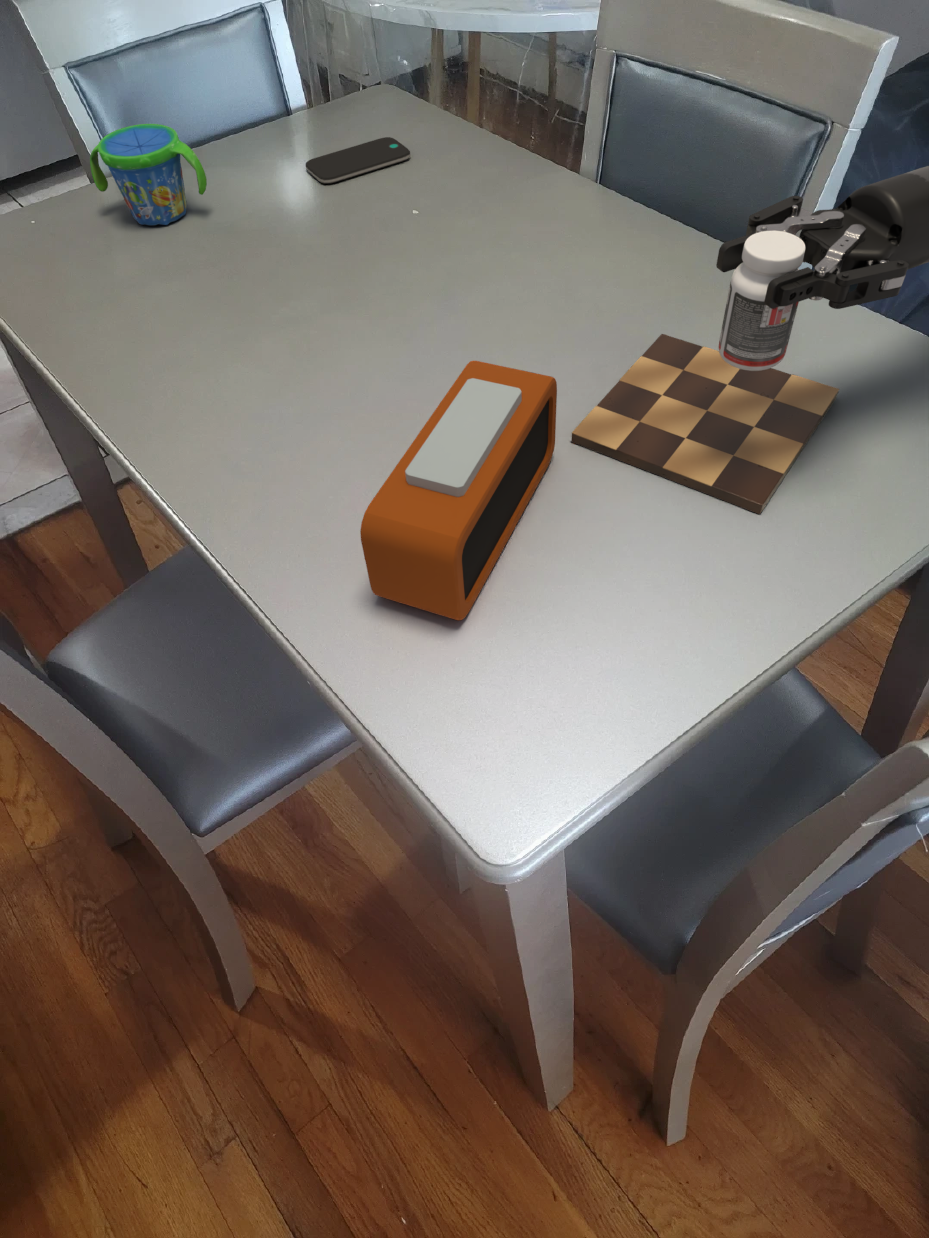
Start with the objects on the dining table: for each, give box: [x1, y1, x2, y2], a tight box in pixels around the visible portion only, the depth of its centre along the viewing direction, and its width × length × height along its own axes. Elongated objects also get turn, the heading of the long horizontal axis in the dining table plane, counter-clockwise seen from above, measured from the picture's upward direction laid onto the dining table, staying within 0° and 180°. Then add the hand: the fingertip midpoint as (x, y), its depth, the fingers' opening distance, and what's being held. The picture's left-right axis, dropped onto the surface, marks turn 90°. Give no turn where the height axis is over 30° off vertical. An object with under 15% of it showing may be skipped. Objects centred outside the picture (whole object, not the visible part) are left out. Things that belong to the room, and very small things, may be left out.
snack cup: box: [89, 123, 208, 226], centre depth 118 cm, size 16×10×10 cm
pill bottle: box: [718, 231, 805, 371], centre depth 72 cm, size 6×6×10 cm
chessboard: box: [570, 333, 840, 515], centre depth 88 cm, size 20×20×1 cm
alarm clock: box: [359, 360, 558, 621], centre depth 76 cm, size 24×8×11 cm, turn 157°
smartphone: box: [305, 136, 411, 185], centre depth 129 cm, size 8×1×15 cm
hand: (744, 277), depth 69 cm, fingers closed on pill bottle, 5 cm apart
